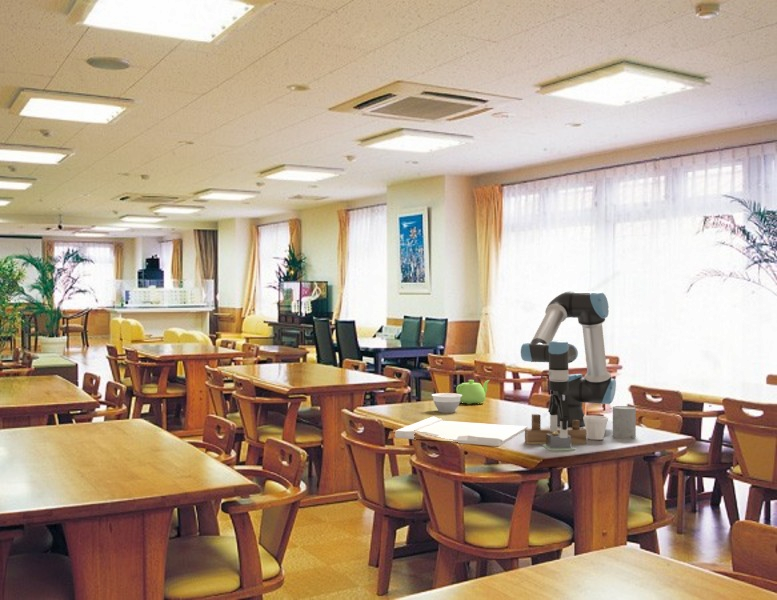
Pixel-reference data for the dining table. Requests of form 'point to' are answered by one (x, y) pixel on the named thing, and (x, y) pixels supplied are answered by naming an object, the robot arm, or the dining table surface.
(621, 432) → the grey cylindrical container
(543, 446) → the mat
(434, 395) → the bowl
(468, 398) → the teapot
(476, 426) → the white flat slab
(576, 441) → the body
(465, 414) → the dining table surface
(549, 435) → the lever cap
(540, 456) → the dining table surface
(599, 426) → the cup
